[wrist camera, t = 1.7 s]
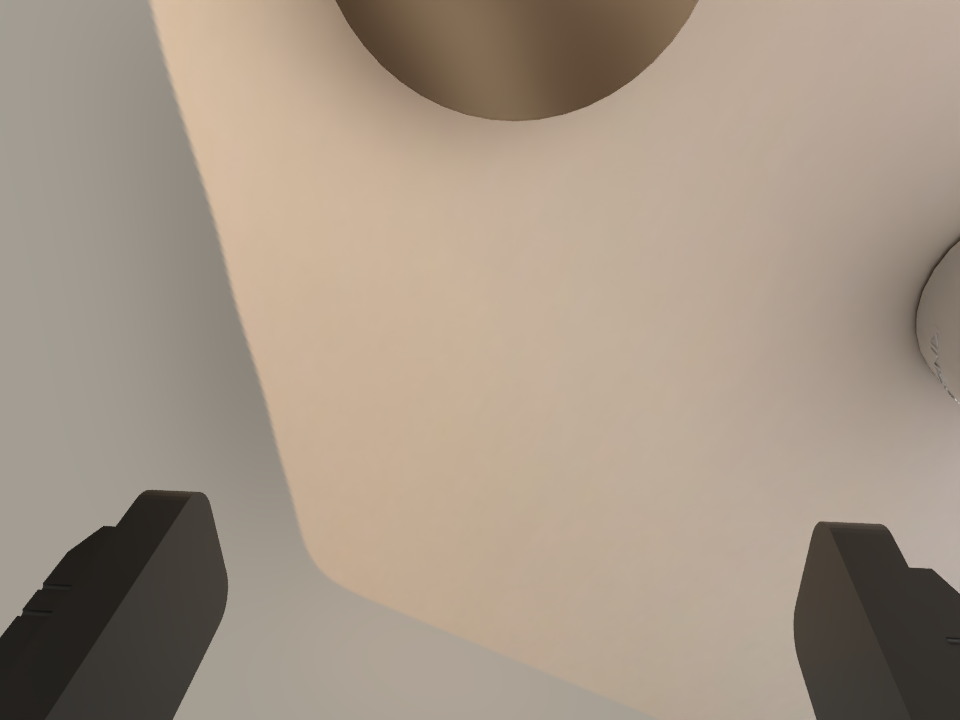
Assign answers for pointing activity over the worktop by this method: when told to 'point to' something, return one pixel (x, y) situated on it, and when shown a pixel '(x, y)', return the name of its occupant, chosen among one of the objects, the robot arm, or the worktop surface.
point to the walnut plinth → (516, 49)
